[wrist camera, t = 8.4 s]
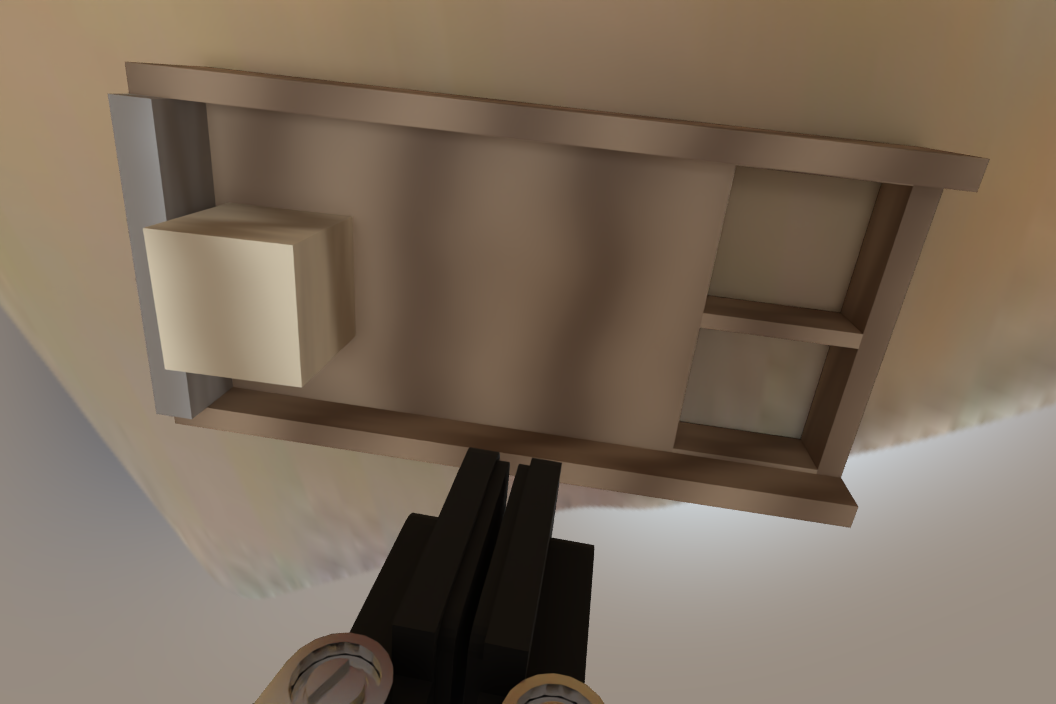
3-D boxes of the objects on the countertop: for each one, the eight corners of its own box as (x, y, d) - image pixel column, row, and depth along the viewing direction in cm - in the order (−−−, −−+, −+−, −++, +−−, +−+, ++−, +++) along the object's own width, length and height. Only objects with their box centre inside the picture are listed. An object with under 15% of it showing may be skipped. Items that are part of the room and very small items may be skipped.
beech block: (352, 216, 24) (292, 245, 20) (355, 335, 26) (301, 387, 22) (229, 202, 25) (143, 228, 20) (241, 321, 27) (165, 369, 22)
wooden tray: (922, 146, 23) (1009, 162, 18) (815, 465, 29) (859, 544, 24) (204, 66, 25) (102, 60, 20) (233, 378, 31) (160, 435, 26)
